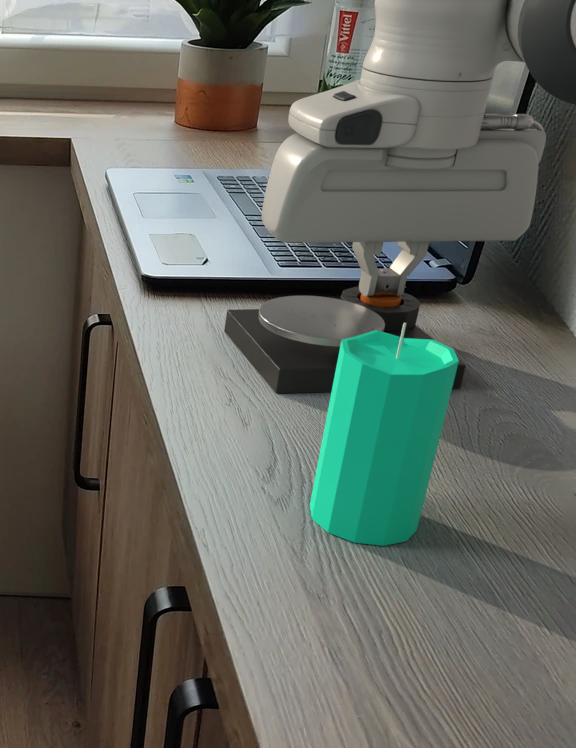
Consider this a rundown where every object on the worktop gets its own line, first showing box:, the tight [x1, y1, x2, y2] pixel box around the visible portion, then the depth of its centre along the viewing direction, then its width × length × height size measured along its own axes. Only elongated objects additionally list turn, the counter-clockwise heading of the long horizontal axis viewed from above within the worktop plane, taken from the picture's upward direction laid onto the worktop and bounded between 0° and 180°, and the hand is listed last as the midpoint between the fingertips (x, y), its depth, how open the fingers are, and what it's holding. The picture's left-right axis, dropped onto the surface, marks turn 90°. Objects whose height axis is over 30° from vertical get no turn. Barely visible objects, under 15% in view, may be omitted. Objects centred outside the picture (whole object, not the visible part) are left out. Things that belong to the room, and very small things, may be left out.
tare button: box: [360, 293, 401, 307], centre depth 87 cm, size 3×3×2 cm
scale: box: [223, 286, 467, 394], centre depth 84 cm, size 14×12×4 cm
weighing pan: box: [258, 295, 385, 347], centre depth 81 cm, size 9×9×1 cm
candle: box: [309, 323, 460, 547], centre depth 61 cm, size 6×6×12 cm
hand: (379, 294), depth 86 cm, fingers closed, pressing on tare button
